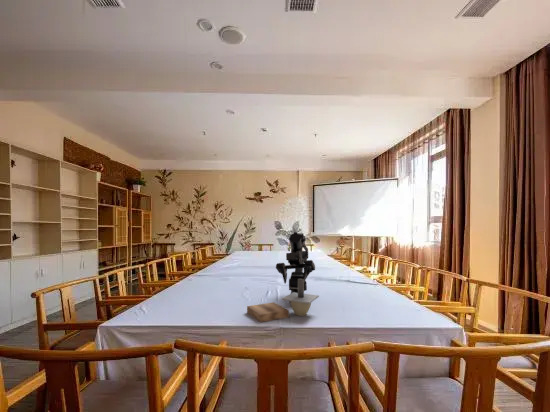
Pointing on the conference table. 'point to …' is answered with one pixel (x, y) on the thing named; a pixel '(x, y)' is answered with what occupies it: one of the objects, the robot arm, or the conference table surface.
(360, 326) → the conference table surface
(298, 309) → the flower pot
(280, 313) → the stand
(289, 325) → the conference table surface
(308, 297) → the cover
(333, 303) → the conference table surface
